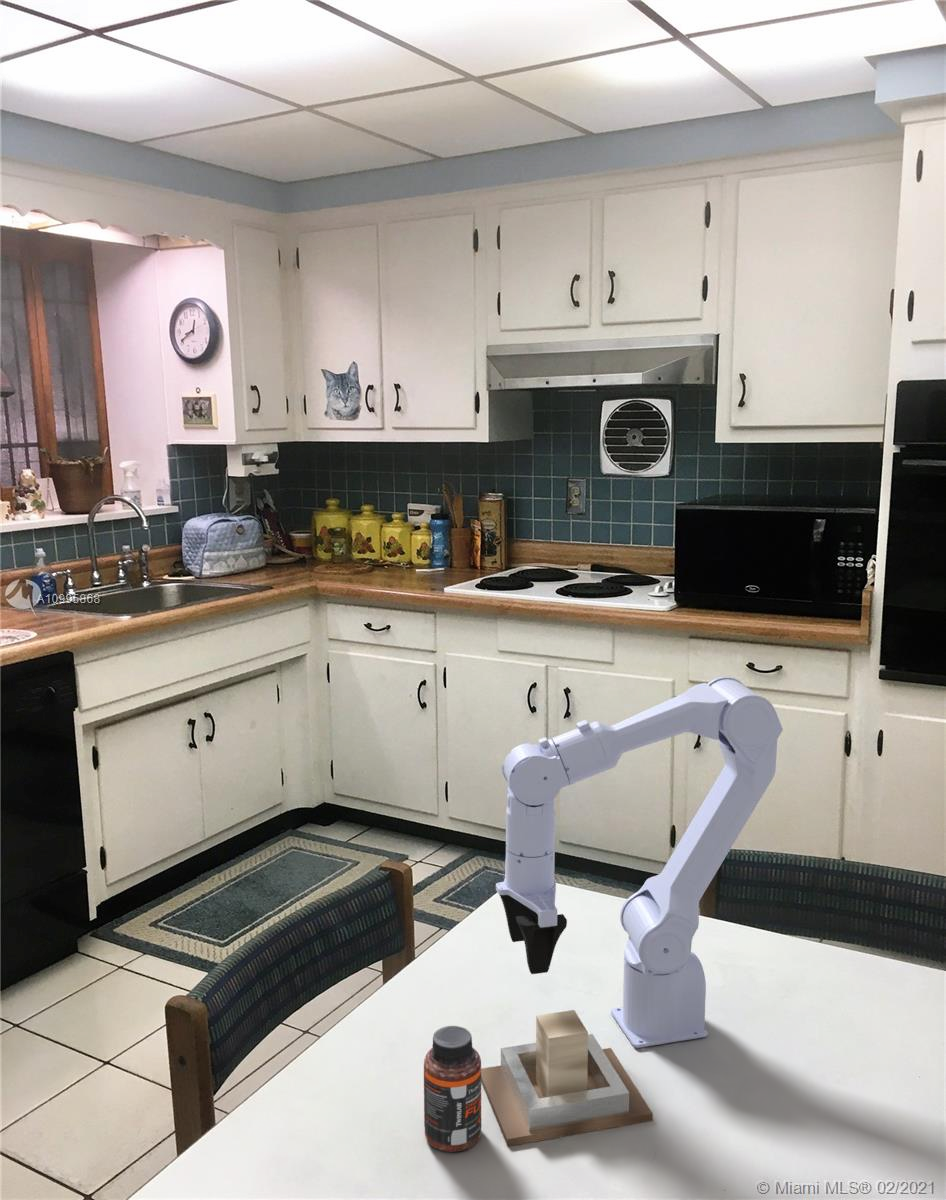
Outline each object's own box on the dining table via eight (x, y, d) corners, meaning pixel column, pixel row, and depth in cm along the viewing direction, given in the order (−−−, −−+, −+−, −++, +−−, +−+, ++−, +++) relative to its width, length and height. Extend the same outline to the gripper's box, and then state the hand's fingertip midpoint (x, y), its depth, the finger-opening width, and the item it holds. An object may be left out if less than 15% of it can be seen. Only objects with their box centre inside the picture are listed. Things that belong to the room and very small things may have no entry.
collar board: (610, 1054, 121) (611, 1028, 120) (652, 1120, 110) (653, 1092, 109) (478, 1075, 117) (478, 1048, 117) (507, 1146, 106) (507, 1117, 105)
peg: (536, 1081, 115) (536, 1015, 113) (573, 1075, 116) (574, 1009, 114) (548, 1106, 111) (548, 1038, 109) (587, 1099, 112) (588, 1032, 110)
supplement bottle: (475, 1159, 104) (474, 1056, 102) (418, 1151, 105) (416, 1050, 103) (486, 1120, 110) (486, 1022, 108) (432, 1113, 111) (430, 1016, 109)
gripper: (481, 827, 127) (481, 930, 129) (514, 877, 113) (513, 991, 115) (536, 822, 128) (535, 924, 131) (575, 870, 115) (573, 983, 117)
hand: (529, 955), depth 123 cm, fingers open, 7 cm apart
